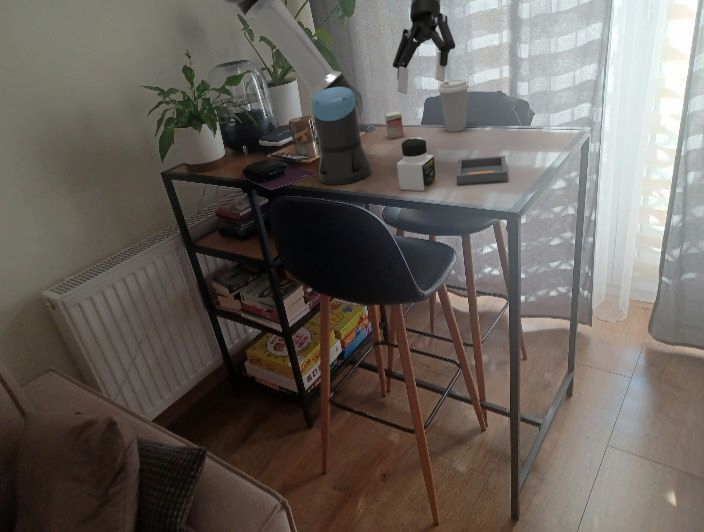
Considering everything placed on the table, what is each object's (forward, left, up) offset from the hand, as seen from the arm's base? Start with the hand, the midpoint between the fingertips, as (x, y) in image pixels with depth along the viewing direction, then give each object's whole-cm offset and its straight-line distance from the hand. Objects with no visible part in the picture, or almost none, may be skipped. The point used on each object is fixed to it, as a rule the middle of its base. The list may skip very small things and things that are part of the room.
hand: (420, 86), depth 134 cm
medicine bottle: (-1, -12, -22) cm, 25 cm away
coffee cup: (+7, +36, -22) cm, 43 cm away
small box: (-13, +34, -22) cm, 43 cm away
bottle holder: (+15, -8, -22) cm, 28 cm away
